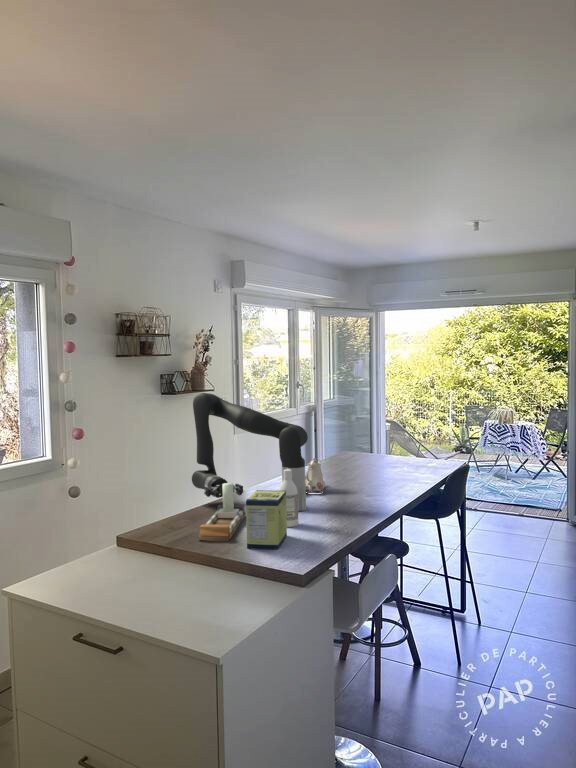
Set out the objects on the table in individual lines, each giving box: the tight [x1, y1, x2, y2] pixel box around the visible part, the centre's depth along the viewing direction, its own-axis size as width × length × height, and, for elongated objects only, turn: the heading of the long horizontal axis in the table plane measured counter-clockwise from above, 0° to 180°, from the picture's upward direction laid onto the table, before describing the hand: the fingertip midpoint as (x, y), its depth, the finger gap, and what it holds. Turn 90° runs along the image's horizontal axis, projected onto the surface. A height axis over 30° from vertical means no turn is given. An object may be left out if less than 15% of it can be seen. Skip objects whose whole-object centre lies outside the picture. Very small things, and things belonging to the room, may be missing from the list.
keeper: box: [217, 482, 239, 518], centre depth 218 cm, size 6×7×12 cm
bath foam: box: [278, 469, 299, 528], centre depth 211 cm, size 7×7×20 cm
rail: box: [198, 504, 246, 542], centre depth 210 cm, size 32×10×4 cm, turn 174°
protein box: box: [245, 489, 288, 550], centre depth 192 cm, size 10×16×16 cm
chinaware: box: [305, 456, 327, 493], centre depth 265 cm, size 28×17×17 cm, turn 155°
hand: (229, 493), depth 217 cm, fingers open, 8 cm apart
